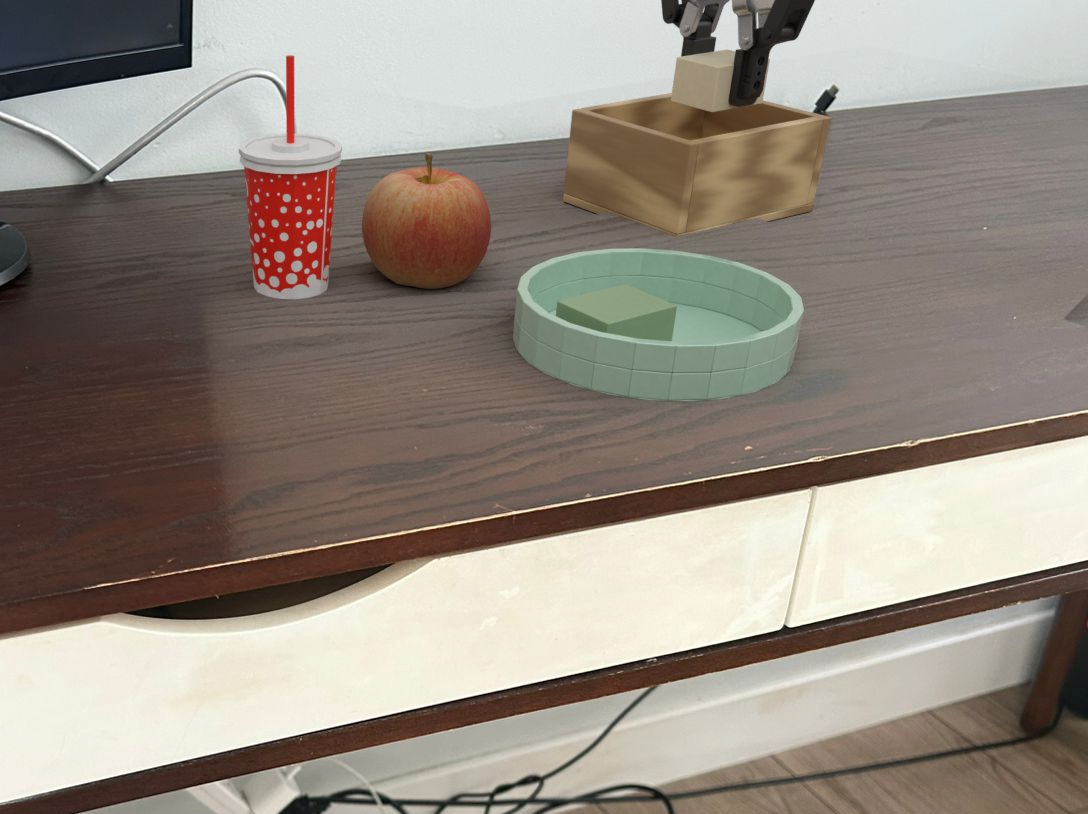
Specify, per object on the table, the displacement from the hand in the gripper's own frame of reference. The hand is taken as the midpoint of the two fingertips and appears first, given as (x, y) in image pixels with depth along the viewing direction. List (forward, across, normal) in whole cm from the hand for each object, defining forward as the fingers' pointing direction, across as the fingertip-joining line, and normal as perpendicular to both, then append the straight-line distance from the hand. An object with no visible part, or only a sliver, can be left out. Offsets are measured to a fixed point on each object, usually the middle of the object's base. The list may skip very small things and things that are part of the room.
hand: (717, 97), depth 97 cm
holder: (+8, 0, +2) cm, 8 cm away
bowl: (+8, -19, +24) cm, 31 cm away
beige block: (0, 0, 0) cm, 0 cm away
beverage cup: (+8, 0, +36) cm, 36 cm away
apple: (+8, -3, +28) cm, 29 cm away
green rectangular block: (+7, -19, +26) cm, 33 cm away
